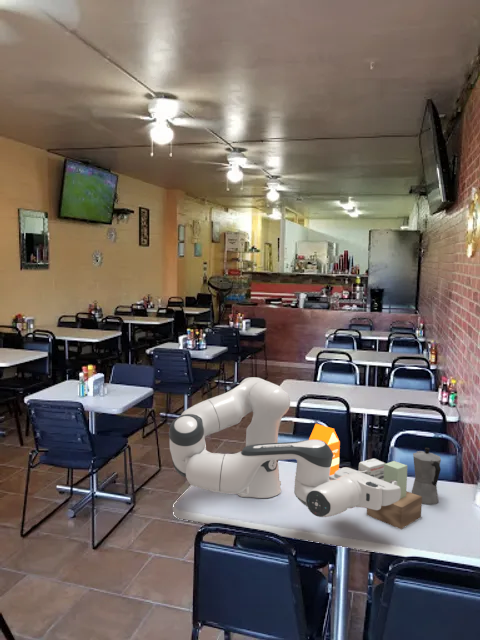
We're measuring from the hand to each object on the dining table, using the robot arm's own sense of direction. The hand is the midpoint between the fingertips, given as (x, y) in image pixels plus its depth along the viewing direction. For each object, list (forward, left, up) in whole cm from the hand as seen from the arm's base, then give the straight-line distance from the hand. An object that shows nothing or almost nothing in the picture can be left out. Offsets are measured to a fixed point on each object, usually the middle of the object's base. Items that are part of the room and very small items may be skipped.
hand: (381, 478), depth 154 cm
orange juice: (-34, +13, -15) cm, 40 cm away
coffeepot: (0, +27, -15) cm, 31 cm away
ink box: (-14, +15, -15) cm, 26 cm away
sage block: (0, +8, -8) cm, 11 cm away
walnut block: (0, +8, -15) cm, 17 cm away
